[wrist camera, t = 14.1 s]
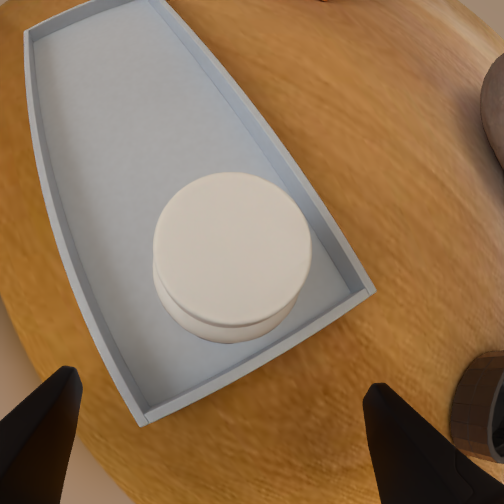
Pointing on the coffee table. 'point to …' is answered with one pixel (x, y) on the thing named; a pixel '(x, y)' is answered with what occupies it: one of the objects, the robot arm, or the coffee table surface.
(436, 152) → the coffee table surface
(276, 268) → the pill bottle
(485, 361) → the charcoal bowl
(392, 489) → the robot arm
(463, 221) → the coffee table surface
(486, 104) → the clay pot
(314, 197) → the serving dish
